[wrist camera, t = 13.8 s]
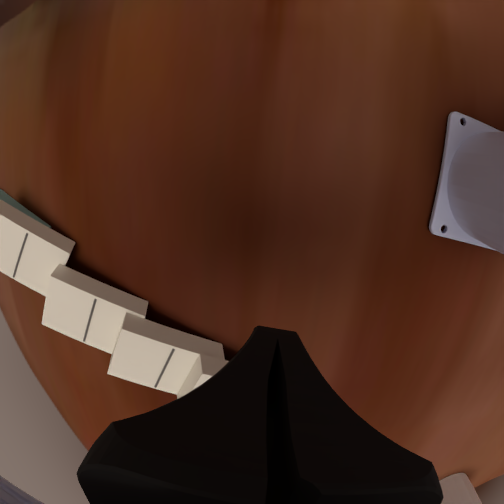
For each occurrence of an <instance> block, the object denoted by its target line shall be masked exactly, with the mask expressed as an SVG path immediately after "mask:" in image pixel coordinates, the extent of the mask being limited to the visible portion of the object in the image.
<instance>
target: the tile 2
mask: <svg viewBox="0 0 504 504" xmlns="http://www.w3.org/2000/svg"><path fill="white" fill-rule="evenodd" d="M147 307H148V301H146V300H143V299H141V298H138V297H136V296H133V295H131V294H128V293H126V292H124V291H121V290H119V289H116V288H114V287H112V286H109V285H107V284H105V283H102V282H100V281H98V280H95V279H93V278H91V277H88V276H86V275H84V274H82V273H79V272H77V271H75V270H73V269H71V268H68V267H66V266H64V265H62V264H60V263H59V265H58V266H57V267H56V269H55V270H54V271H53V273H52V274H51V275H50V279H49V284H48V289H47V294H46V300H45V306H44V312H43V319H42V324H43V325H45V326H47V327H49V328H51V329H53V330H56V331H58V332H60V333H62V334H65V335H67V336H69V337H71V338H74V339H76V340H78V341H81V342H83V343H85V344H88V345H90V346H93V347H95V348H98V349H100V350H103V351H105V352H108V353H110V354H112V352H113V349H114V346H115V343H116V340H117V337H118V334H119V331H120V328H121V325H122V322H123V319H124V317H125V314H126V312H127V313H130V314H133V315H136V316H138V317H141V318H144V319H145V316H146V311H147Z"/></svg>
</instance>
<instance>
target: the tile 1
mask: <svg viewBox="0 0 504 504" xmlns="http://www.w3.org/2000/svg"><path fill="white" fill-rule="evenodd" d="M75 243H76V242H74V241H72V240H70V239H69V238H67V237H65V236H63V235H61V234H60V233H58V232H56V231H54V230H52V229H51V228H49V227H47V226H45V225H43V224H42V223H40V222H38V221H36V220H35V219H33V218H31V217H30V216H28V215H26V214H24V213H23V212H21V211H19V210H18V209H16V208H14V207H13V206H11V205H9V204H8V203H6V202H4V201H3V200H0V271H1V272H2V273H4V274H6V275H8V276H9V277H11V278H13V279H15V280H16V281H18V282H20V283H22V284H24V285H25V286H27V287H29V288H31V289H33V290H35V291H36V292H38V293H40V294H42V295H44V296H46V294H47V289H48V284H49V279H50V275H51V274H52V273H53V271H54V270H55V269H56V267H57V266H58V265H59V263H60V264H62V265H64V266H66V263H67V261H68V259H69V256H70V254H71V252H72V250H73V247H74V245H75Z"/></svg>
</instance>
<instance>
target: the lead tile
mask: <svg viewBox="0 0 504 504" xmlns="http://www.w3.org/2000/svg"><path fill="white" fill-rule="evenodd" d="M228 362H229V361H227V360H223V359H219V358H215V357H211V356H207V355H203V354H200V355H199V356H198V358H197V360H196V362H195V363H194V365H193V367H192V369H191V370H190V372H189V374H188V376H187V378H186V379H185V381H184V383H183V385H182V386H181V388H180V390H179V392H178V393H177V399H178V398H180V397H182V396H184V395H186V394H187V393H189V392H190V391H192V390H194V389H195V388H197V387H198V386H200V385H201V384H203V383H204V382H206V381H207V380H208V379H210V378H211V377H212V376H213V375H215V374H216V373H217V372H218V371H219V370H221V369H222V368H223V367H224V366H225V365H226V364H227V363H228Z"/></svg>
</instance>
